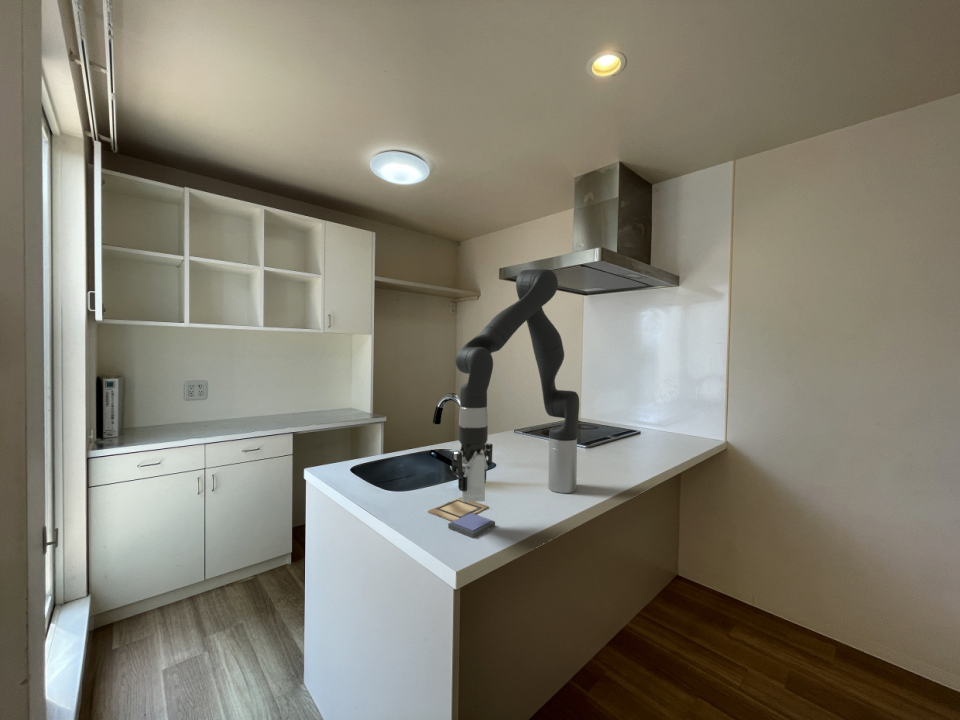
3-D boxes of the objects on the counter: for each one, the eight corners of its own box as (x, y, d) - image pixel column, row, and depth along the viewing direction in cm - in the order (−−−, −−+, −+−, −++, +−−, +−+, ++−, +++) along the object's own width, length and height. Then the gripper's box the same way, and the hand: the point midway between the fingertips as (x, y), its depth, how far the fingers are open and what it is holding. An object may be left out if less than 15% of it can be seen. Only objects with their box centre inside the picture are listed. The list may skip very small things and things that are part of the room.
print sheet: (460, 498, 122) (460, 496, 122) (488, 507, 115) (488, 505, 115) (427, 512, 111) (427, 510, 111) (456, 523, 104) (456, 521, 104)
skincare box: (483, 496, 104) (483, 451, 104) (485, 502, 100) (485, 455, 100) (460, 496, 104) (460, 451, 104) (461, 503, 99) (461, 455, 99)
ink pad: (470, 517, 108) (470, 511, 108) (495, 525, 103) (495, 520, 103) (448, 528, 101) (448, 522, 101) (472, 538, 96) (473, 532, 96)
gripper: (479, 418, 109) (478, 477, 110) (443, 425, 98) (442, 491, 99) (501, 422, 105) (500, 483, 105) (466, 429, 94) (465, 498, 94)
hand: (472, 486), depth 102 cm, fingers closed on skincare box, 7 cm apart
